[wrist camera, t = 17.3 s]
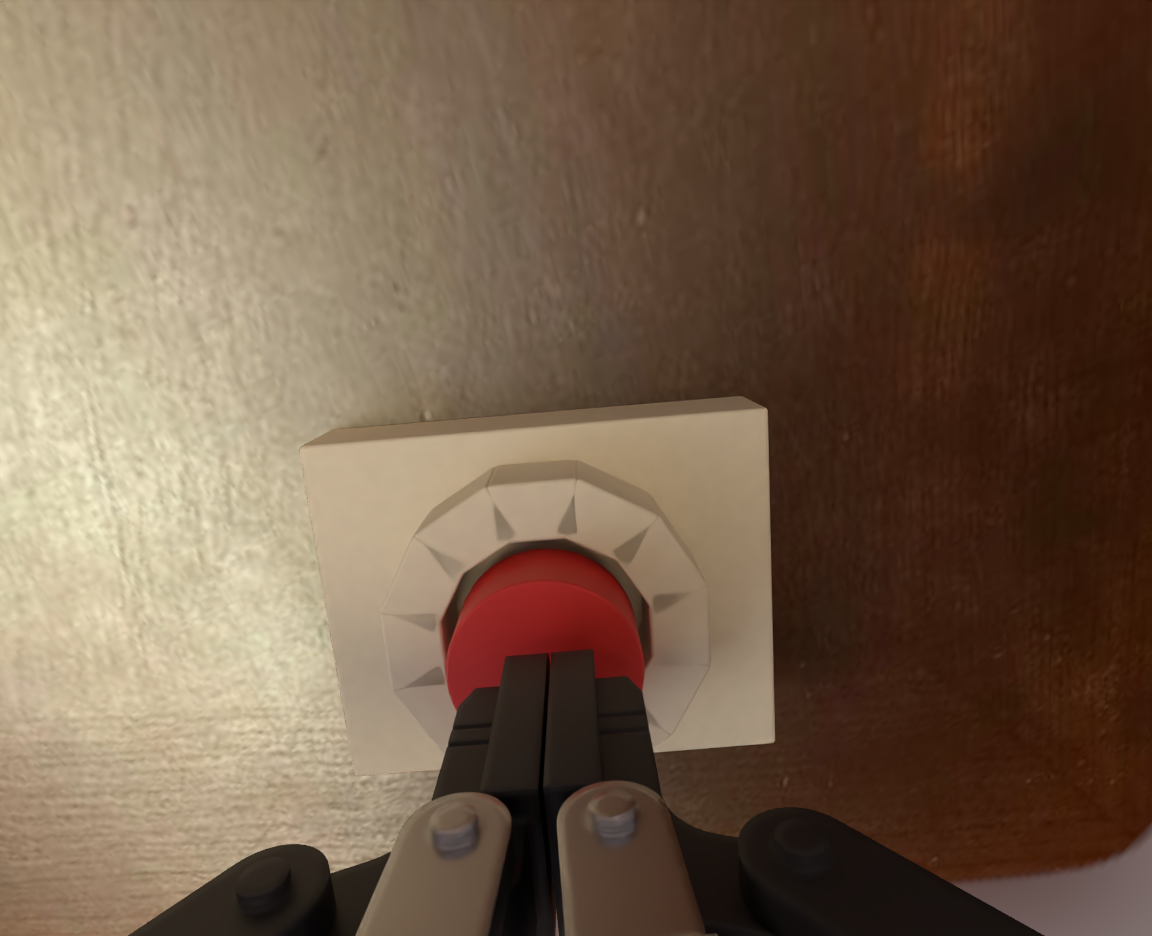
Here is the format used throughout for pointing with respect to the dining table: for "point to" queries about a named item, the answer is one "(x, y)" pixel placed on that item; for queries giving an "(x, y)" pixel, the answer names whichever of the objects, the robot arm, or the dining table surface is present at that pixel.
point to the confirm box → (549, 521)
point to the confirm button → (542, 619)
